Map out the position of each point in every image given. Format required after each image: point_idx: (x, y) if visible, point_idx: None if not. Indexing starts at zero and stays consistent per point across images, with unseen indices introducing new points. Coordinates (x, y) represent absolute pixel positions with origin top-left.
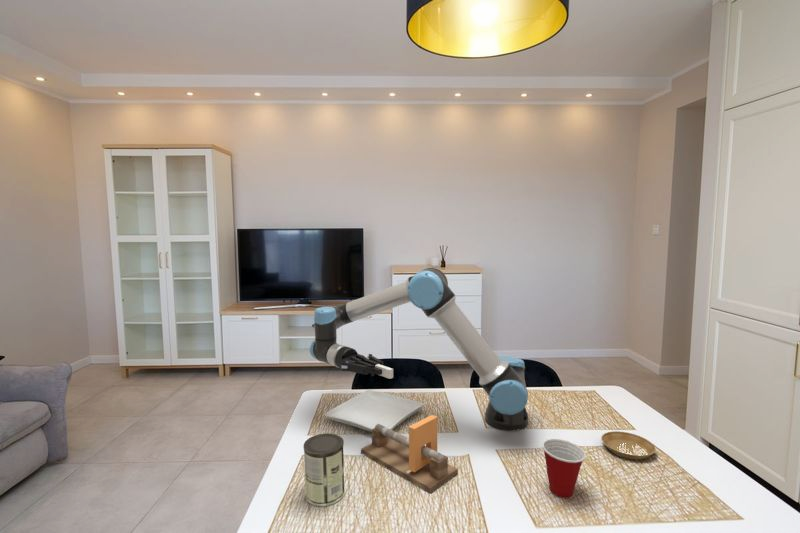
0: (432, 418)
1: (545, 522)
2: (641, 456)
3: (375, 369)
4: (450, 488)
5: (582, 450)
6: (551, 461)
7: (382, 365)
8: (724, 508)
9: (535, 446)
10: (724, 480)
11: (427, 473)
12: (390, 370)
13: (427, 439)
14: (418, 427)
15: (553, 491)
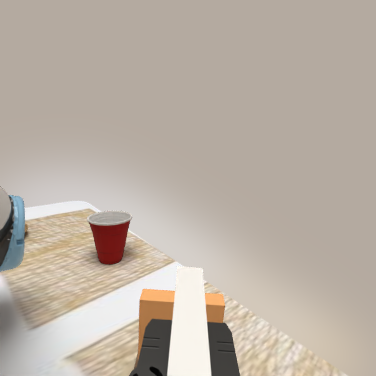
0: (156, 292)
1: (165, 258)
2: (26, 226)
3: (235, 358)
4: None
5: (100, 212)
6: (127, 226)
7: (174, 329)
8: (81, 211)
9: (5, 293)
10: (42, 210)
11: None
12: (196, 270)
13: None
14: (208, 294)
15: (120, 258)
